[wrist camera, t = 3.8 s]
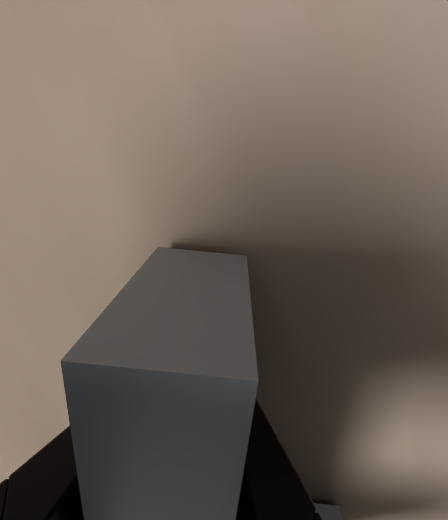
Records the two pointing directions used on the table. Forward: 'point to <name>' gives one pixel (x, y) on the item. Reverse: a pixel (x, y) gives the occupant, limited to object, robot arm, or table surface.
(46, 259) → the table surface
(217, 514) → the grey piece
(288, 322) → the table surface
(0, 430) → the table surface
